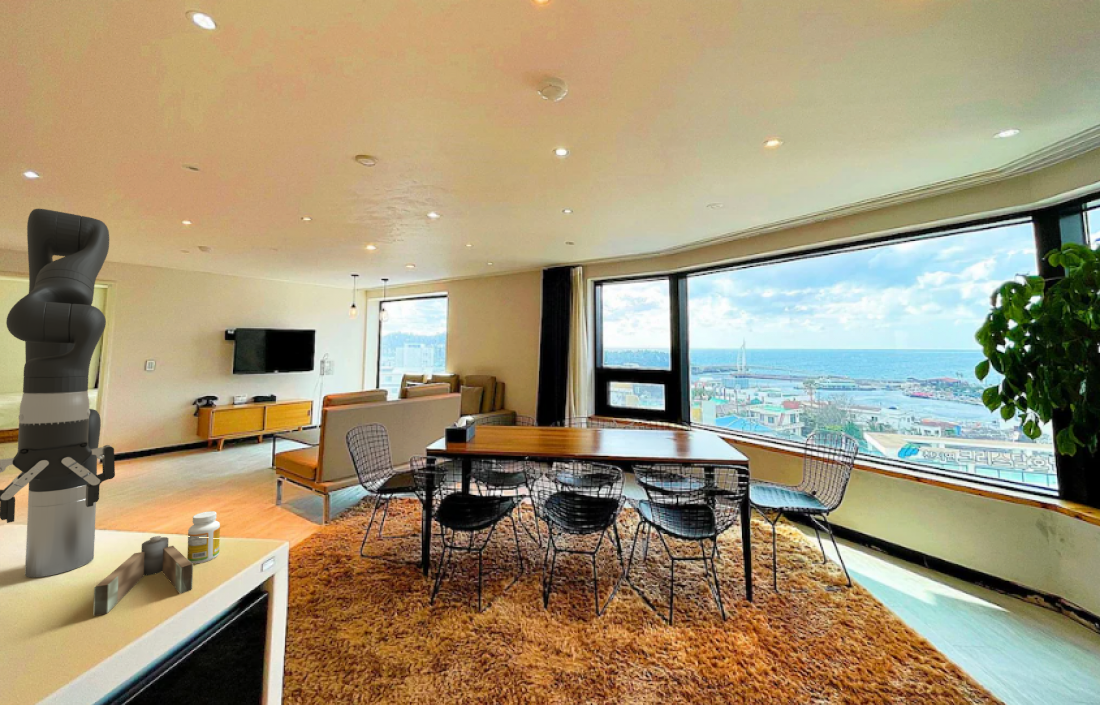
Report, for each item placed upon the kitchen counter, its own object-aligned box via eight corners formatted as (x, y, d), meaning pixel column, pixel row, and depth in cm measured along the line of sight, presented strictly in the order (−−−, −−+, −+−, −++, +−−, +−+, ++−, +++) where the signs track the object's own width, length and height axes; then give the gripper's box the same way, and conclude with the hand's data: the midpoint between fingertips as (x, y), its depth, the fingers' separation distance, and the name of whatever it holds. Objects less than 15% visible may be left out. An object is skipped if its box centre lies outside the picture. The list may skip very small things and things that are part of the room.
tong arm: (132, 578, 80) (133, 553, 80) (144, 576, 80) (145, 551, 81) (93, 616, 68) (94, 586, 68) (107, 613, 69) (108, 584, 69)
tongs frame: (138, 571, 82) (139, 538, 83) (167, 562, 86) (168, 531, 86) (160, 600, 73) (162, 563, 73) (192, 589, 76) (193, 554, 76)
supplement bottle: (211, 550, 92) (212, 508, 92) (224, 555, 90) (225, 512, 90) (182, 560, 87) (183, 516, 87) (194, 566, 85) (196, 520, 85)
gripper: (112, 412, 76) (109, 497, 76) (-18, 420, 64) (-22, 521, 64) (120, 415, 72) (117, 505, 71) (-17, 425, 60) (-22, 533, 60)
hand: (51, 513), depth 68 cm, fingers open, 8 cm apart
